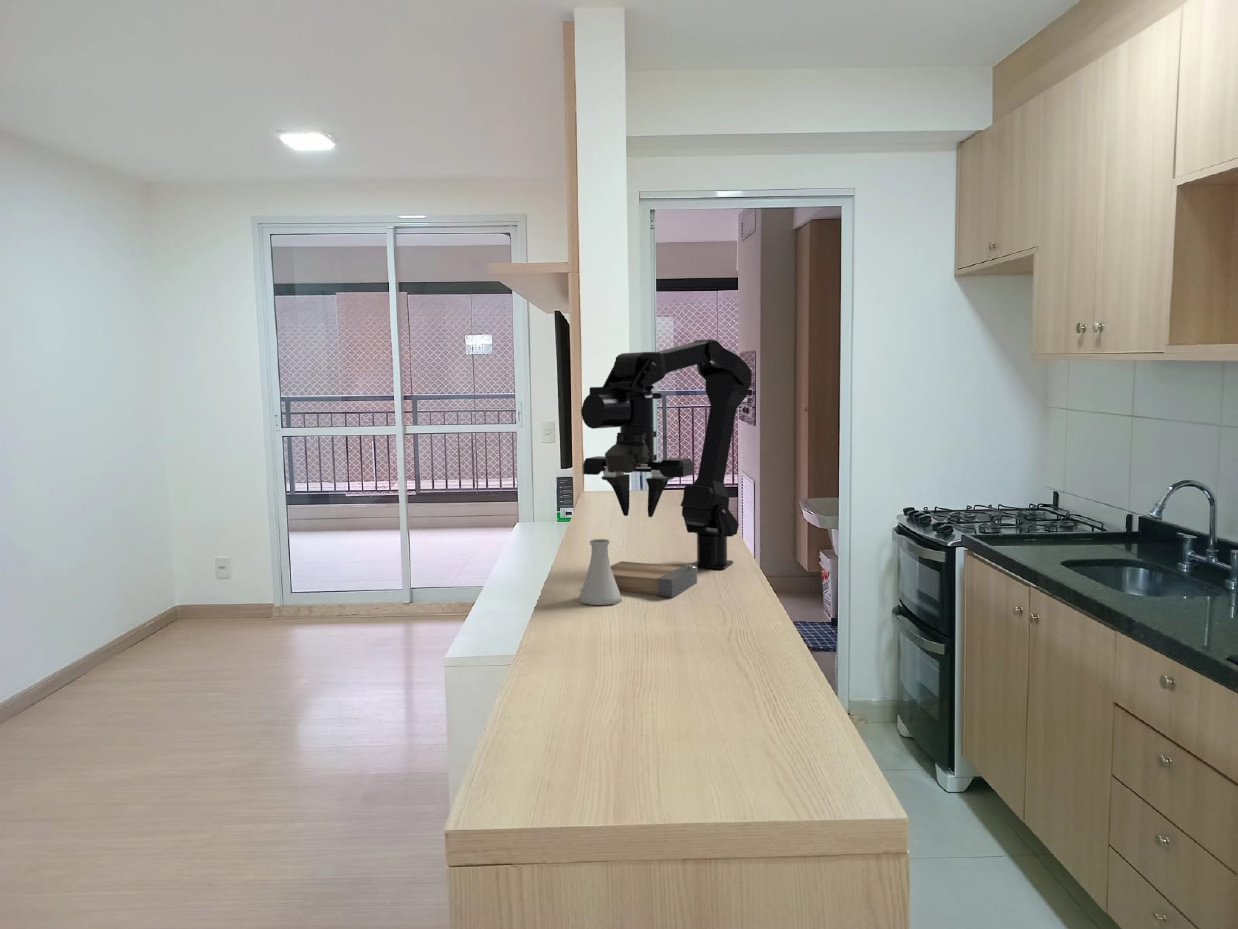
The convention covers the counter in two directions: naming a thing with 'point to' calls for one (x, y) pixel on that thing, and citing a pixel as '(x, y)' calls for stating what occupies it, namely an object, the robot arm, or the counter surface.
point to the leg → (677, 581)
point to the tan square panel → (639, 576)
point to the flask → (599, 577)
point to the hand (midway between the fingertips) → (638, 516)
